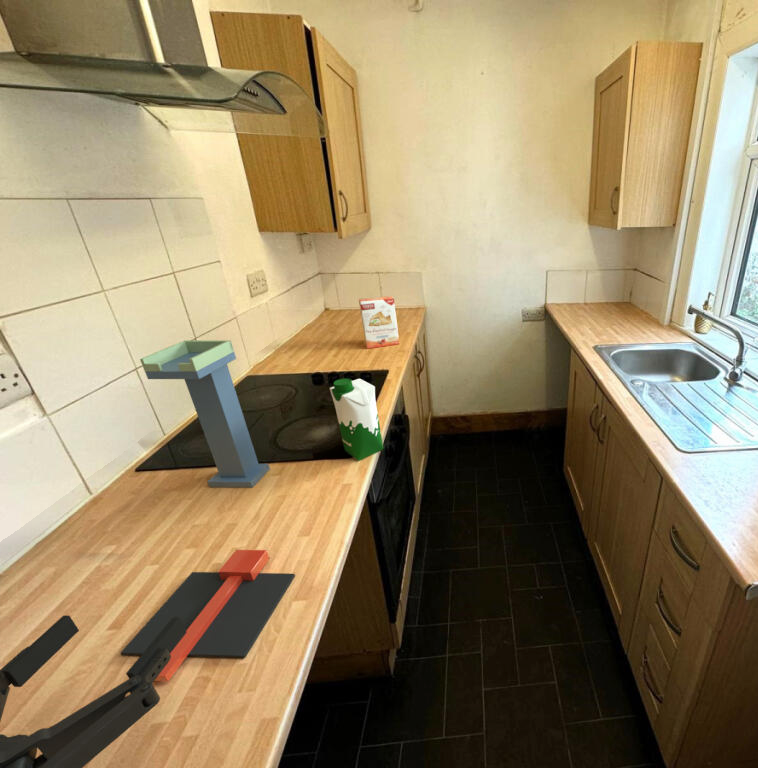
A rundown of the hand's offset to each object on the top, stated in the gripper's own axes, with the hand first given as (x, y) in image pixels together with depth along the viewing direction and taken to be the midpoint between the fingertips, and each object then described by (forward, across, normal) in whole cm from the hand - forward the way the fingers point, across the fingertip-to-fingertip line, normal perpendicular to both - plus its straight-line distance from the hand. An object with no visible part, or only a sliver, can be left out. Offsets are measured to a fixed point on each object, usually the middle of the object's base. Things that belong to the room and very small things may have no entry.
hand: (125, 623), depth 51 cm
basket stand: (+43, -18, -12) cm, 48 cm away
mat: (+11, 0, -12) cm, 16 cm away
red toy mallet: (+10, 0, -11) cm, 15 cm away
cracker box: (+141, -14, -11) cm, 142 cm away
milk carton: (+57, +8, -12) cm, 58 cm away
